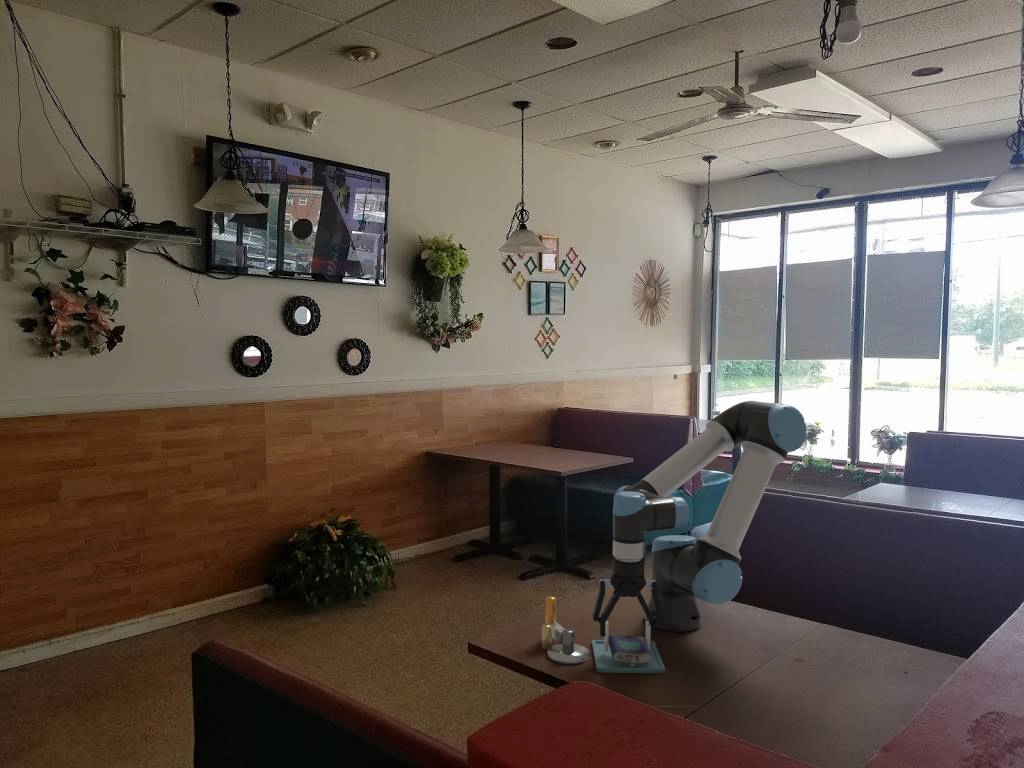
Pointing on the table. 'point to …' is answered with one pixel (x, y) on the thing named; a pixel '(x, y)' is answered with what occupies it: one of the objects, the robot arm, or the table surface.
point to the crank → (553, 619)
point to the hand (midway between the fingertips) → (626, 649)
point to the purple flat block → (629, 649)
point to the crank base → (563, 647)
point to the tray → (608, 664)
